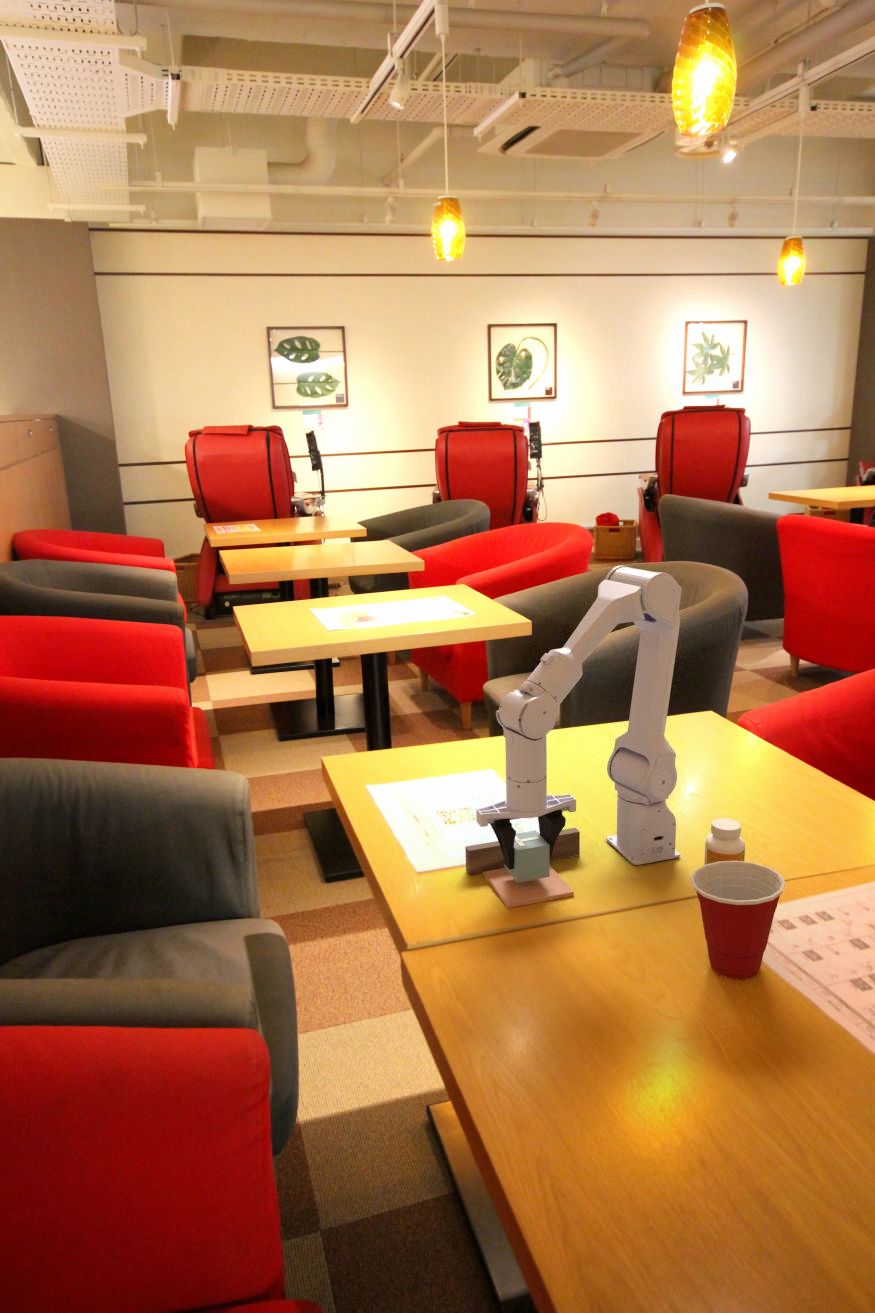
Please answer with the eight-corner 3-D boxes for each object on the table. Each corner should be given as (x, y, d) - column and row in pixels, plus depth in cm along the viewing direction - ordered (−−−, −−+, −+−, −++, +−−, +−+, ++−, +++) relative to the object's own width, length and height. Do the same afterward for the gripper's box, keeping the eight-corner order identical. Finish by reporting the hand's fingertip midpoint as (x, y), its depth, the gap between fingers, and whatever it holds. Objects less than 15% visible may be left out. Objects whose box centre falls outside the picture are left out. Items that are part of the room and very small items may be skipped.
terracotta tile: (573, 895, 129) (573, 891, 129) (507, 908, 126) (507, 904, 126) (545, 864, 138) (545, 860, 138) (483, 875, 135) (483, 871, 135)
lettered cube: (549, 876, 130) (549, 844, 129) (516, 882, 129) (516, 850, 127) (535, 861, 135) (535, 830, 133) (504, 867, 133) (503, 835, 132)
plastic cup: (708, 931, 119) (712, 848, 116) (792, 960, 112) (798, 872, 109) (671, 971, 111) (674, 882, 108) (759, 1004, 104) (765, 910, 101)
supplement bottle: (748, 895, 127) (751, 832, 125) (709, 896, 127) (712, 832, 125) (736, 876, 132) (739, 815, 130) (699, 877, 132) (701, 816, 130)
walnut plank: (579, 855, 140) (579, 831, 139) (469, 875, 135) (468, 850, 134) (575, 851, 142) (575, 827, 141) (466, 870, 137) (465, 846, 136)
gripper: (561, 758, 133) (561, 843, 137) (468, 772, 129) (470, 859, 133) (582, 775, 127) (582, 864, 130) (485, 790, 123) (487, 881, 126)
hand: (527, 863), depth 131 cm, fingers closed on lettered cube, 5 cm apart
